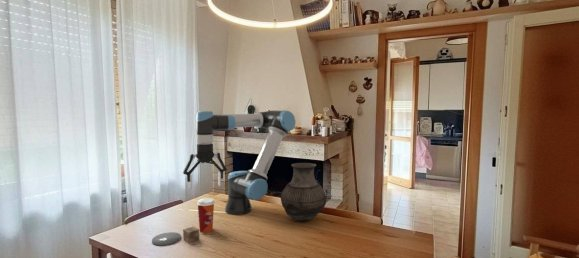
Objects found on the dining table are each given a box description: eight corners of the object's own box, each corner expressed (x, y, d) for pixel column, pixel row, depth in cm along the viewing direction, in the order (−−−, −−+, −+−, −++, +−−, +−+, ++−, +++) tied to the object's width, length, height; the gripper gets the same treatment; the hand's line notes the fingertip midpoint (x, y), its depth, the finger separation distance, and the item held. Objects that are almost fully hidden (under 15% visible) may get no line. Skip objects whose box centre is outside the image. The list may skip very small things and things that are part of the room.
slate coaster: (179, 232, 139) (179, 230, 139) (182, 242, 128) (182, 240, 128) (151, 236, 134) (151, 235, 134) (152, 247, 123) (152, 246, 123)
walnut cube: (193, 236, 135) (193, 226, 134) (199, 240, 131) (198, 229, 131) (183, 240, 131) (183, 229, 131) (188, 243, 128) (188, 232, 127)
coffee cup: (210, 234, 137) (209, 203, 136) (194, 233, 138) (193, 202, 137) (217, 227, 145) (217, 198, 144) (202, 226, 147) (202, 197, 146)
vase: (320, 231, 141) (321, 170, 140) (273, 224, 149) (273, 167, 147) (329, 214, 165) (330, 162, 163) (288, 209, 173) (289, 159, 171)
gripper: (228, 141, 148) (229, 182, 149) (176, 143, 137) (177, 187, 138) (232, 143, 141) (232, 186, 142) (177, 145, 130) (178, 191, 132)
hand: (205, 187), depth 140 cm, fingers open, 13 cm apart
